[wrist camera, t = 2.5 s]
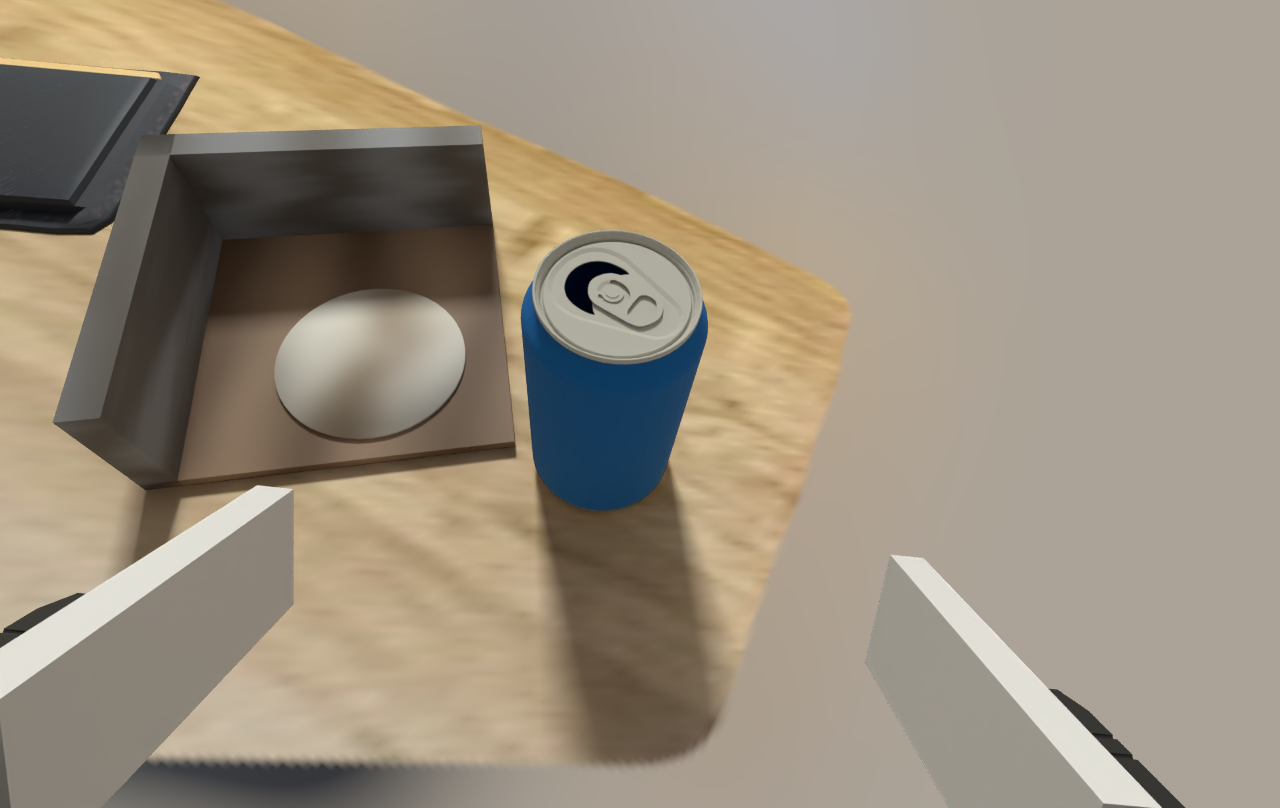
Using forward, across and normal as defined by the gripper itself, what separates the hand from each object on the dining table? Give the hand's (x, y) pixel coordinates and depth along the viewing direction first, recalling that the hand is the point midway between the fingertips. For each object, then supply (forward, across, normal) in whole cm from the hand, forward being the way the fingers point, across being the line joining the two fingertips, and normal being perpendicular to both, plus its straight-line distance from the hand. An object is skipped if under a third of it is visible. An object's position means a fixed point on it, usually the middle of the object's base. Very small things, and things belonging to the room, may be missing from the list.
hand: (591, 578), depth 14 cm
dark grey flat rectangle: (+29, -39, +8) cm, 49 cm away
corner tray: (+21, -14, +1) cm, 25 cm away
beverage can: (+17, 0, -3) cm, 17 cm away
